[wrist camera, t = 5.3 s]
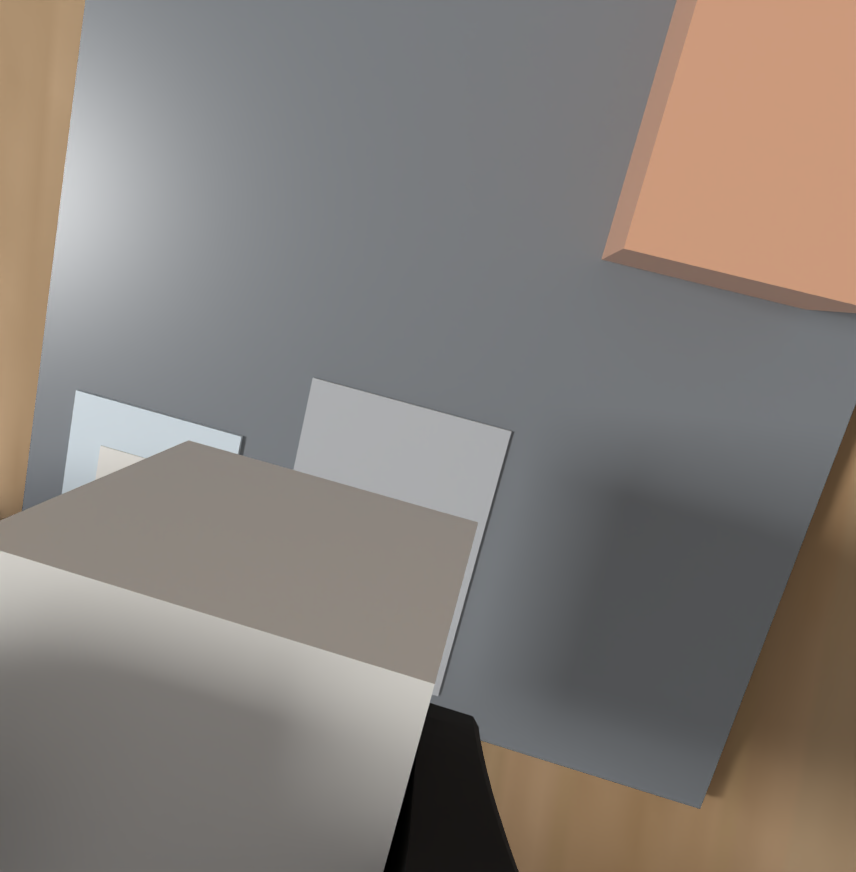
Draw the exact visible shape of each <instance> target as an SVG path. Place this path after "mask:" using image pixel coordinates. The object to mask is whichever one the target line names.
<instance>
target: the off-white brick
mask: <svg viewBox="0 0 856 872" xmlns="http://www.w3.org/2000/svg"><path fill="white" fill-rule="evenodd" d="M477 526H478V522H475V521H472V520H468V519H465V518H461V517H458V516H454V515H450V514H447V513H443V512H440V511H436V510H433V509H429V508H426V507H422V506H419V505H415V504H412V503H408V502H405V501H401V500H398V499H394V498H391V497H387V496H383V495H380V494H376V493H373V492H369V491H366V490H362V489H359V488H355V487H352V486H348V485H345V484H341V483H338V482H334V481H331V480H327V479H324V478H320V477H316V476H313V475H309V474H306V473H302V472H299V471H295V470H292V469H288V468H285V467H281V466H278V465H274V464H271V463H267V462H264V461H260V460H256V459H253V458H249V457H246V456H242V455H239V454H235V453H232V452H228V451H225V450H221V449H218V448H214V447H211V446H207V445H204V444H200V443H197V442H193V441H189V440H188V441H186V442H183V443H181V444H179V445H176V446H174V447H171V448H169V449H167V450H164V451H162V452H160V453H157V454H155V455H153V456H150V457H148V458H146V459H143V460H141V461H139V462H136V463H134V464H132V465H129V466H127V467H125V468H122V469H120V470H118V471H115V472H113V473H110V474H108V475H106V476H103V477H101V478H99V479H96V480H94V481H92V482H89V483H87V484H85V485H82V486H80V487H78V488H75V489H73V490H71V491H68V492H66V493H64V494H61V495H59V496H56V497H54V498H52V499H49V500H47V501H45V502H42V503H40V504H38V505H35V506H33V507H31V508H28V509H26V510H24V511H21V512H19V513H17V514H14V515H12V516H10V517H7V518H5V519H2V520H0V872H383V871H384V867H385V864H386V860H387V856H388V853H389V849H390V845H391V842H392V838H393V835H394V831H395V827H396V824H397V820H398V816H399V813H400V809H401V805H402V802H403V798H404V794H405V791H406V787H407V784H408V780H409V776H410V773H411V769H412V765H413V762H414V758H415V754H416V751H417V747H418V743H419V740H420V736H421V732H422V729H423V725H424V722H425V718H426V714H427V711H428V707H429V703H430V700H431V696H432V692H433V689H434V685H435V681H436V678H437V674H438V670H439V667H440V663H441V659H442V655H443V652H444V648H445V644H446V641H447V637H448V633H449V630H450V626H451V622H452V618H453V615H454V611H455V607H456V604H457V600H458V596H459V593H460V589H461V585H462V581H463V578H464V574H465V570H466V567H467V563H468V559H469V556H470V552H471V548H472V544H473V541H474V537H475V533H476V530H477Z"/></svg>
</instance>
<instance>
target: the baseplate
mask: <svg viewBox="0 0 856 872" xmlns="http://www.w3.org/2000/svg"><path fill="white" fill-rule="evenodd" d="M676 1H677V0H86V1H85V9H84V17H83V25H82V33H81V41H80V49H79V57H78V65H77V73H76V81H75V89H74V97H73V105H72V113H71V121H70V129H69V137H68V145H67V153H66V161H65V170H64V178H63V186H62V194H61V202H60V210H59V218H58V226H57V234H56V242H55V250H54V258H53V266H52V274H51V282H50V290H49V298H48V306H47V314H46V322H45V330H44V339H43V347H42V355H41V363H40V371H39V379H38V387H37V395H36V403H35V411H34V419H33V427H32V435H31V443H30V451H29V459H28V467H27V475H26V483H25V491H24V499H23V507H22V511H24V510H26V509H28V508H31V507H33V506H35V505H38V504H40V503H42V502H45V501H47V500H49V499H52V498H54V497H56V496H59V495H61V494H64V493H66V492H68V491H71V490H73V489H75V488H78V487H80V486H82V485H85V484H87V483H89V482H92V481H94V480H96V479H99V478H101V477H103V476H106V475H108V474H110V473H113V472H115V471H118V470H120V469H122V468H125V467H127V466H129V465H132V464H134V463H136V462H139V461H141V460H143V459H146V458H148V457H150V456H153V455H155V454H157V453H160V452H162V451H164V450H167V449H169V448H171V447H174V446H176V445H179V444H181V443H183V442H186V441H188V440H189V441H193V442H197V443H200V444H204V445H207V446H211V447H214V448H218V449H221V450H225V451H228V452H232V453H235V454H239V455H242V456H246V457H249V458H253V459H256V460H260V461H264V462H267V463H271V464H274V465H278V466H281V467H285V468H288V469H292V470H295V471H299V472H302V473H306V474H309V475H313V476H316V477H320V478H324V479H327V480H331V481H334V482H338V483H341V484H345V485H348V486H352V487H355V488H359V489H362V490H366V491H369V492H373V493H376V494H380V495H383V496H387V497H391V498H394V499H398V500H401V501H405V502H408V503H412V504H415V505H419V506H422V507H426V508H429V509H433V510H436V511H440V512H443V513H447V514H450V515H454V516H458V517H461V518H465V519H468V520H472V521H475V522H478V526H477V530H476V533H475V537H474V541H473V544H472V548H471V552H470V556H469V559H468V563H467V567H466V570H465V574H464V578H463V581H462V585H461V589H460V593H459V596H458V600H457V604H456V607H455V611H454V615H453V618H452V622H451V626H450V630H449V633H448V637H447V641H446V644H445V648H444V652H443V655H442V659H441V663H440V667H439V670H438V674H437V678H436V681H435V685H434V689H433V692H432V696H431V700H430V703H432V704H435V705H439V706H442V707H445V708H448V709H451V710H455V711H458V712H461V713H464V714H468V715H471V716H473V717H474V719H475V721H476V723H477V725H478V726H479V733H480V740H481V741H484V742H487V743H491V744H494V745H497V746H500V747H503V748H507V749H510V750H513V751H516V752H519V753H523V754H526V755H529V756H532V757H535V758H539V759H542V760H545V761H548V762H551V763H555V764H558V765H561V766H564V767H567V768H571V769H574V770H577V771H580V772H583V773H587V774H590V775H593V776H596V777H599V778H603V779H606V780H609V781H612V782H615V783H619V784H622V785H625V786H628V787H632V788H635V789H638V790H641V791H644V792H648V793H651V794H654V795H657V796H660V797H664V798H667V799H670V800H673V801H676V802H680V803H683V804H686V805H689V806H692V807H696V808H699V809H700V808H701V805H702V803H703V800H704V797H705V795H706V792H707V790H708V787H709V784H710V782H711V779H712V777H713V774H714V771H715V769H716V766H717V764H718V761H719V758H720V756H721V753H722V751H723V748H724V745H725V743H726V740H727V738H728V735H729V732H730V730H731V727H732V724H733V722H734V719H735V717H736V714H737V711H738V709H739V706H740V704H741V701H742V698H743V696H744V693H745V691H746V688H747V685H748V683H749V680H750V678H751V675H752V672H753V670H754V667H755V665H756V662H757V659H758V657H759V654H760V652H761V649H762V646H763V644H764V641H765V639H766V636H767V633H768V631H769V628H770V626H771V623H772V620H773V618H774V615H775V613H776V610H777V607H778V605H779V602H780V600H781V597H782V594H783V592H784V589H785V587H786V584H787V581H788V579H789V576H790V574H791V571H792V568H793V566H794V563H795V561H796V558H797V555H798V553H799V550H800V548H801V545H802V542H803V540H804V537H805V535H806V532H807V529H808V527H809V524H810V521H811V519H812V516H813V514H814V511H815V508H816V506H817V503H818V501H819V498H820V495H821V493H822V490H823V488H824V485H825V482H826V480H827V477H828V475H829V472H830V469H831V467H832V464H833V462H834V459H835V456H836V454H837V451H838V449H839V446H840V443H841V441H842V438H843V436H844V433H845V430H846V428H847V425H848V423H849V420H850V417H851V415H852V412H853V410H854V407H855V404H856V313H845V312H831V311H818V310H805V309H801V308H797V307H793V306H789V305H785V304H780V303H776V302H772V301H768V300H764V299H760V298H756V297H752V296H748V295H744V294H740V293H736V292H732V291H728V290H723V289H719V288H715V287H711V286H707V285H703V284H699V283H695V282H691V281H687V280H683V279H679V278H675V277H670V276H666V275H662V274H658V273H654V272H650V271H646V270H642V269H638V268H634V267H630V266H626V265H622V264H617V263H613V262H609V261H605V260H601V259H602V256H603V252H604V249H605V245H606V242H607V238H608V235H609V232H610V228H611V225H612V221H613V218H614V214H615V211H616V207H617V204H618V201H619V197H620V194H621V190H622V187H623V183H624V180H625V176H626V173H627V170H628V166H629V163H630V159H631V156H632V152H633V149H634V145H635V142H636V139H637V135H638V132H639V128H640V125H641V121H642V118H643V115H644V111H645V108H646V104H647V101H648V97H649V94H650V90H651V87H652V84H653V80H654V77H655V73H656V70H657V66H658V63H659V59H660V56H661V53H662V49H663V46H664V42H665V39H666V35H667V32H668V28H669V25H670V22H671V18H672V15H673V11H674V8H675V4H676Z"/></svg>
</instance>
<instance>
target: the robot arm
mask: <svg viewBox="0 0 856 872" xmlns="http://www.w3.org/2000/svg"><path fill="white" fill-rule="evenodd" d="M383 872H518V869H517V866H516V863H515V861H514V858H513V855H512V852H511V849H510V846H509V843H508V840H507V837H506V834H505V831H504V828H503V825H502V822H501V819H500V816H499V813H498V810H497V806H496V803H495V799H494V796H493V792H492V789H491V785H490V781H489V777H488V773H487V769H486V765H485V761H484V756H483V751H482V746H481V740H480V733H479V726H478V725H477V723H476V721H475V719H474V717H473V716H471V715H468V714H464V713H461V712H458V711H455V710H451V709H448V708H445V707H442V706H439V705H435V704H432V703H429V707H428V711H427V714H426V718H425V722H424V725H423V729H422V732H421V736H420V740H419V743H418V747H417V751H416V754H415V758H414V762H413V765H412V769H411V773H410V776H409V780H408V784H407V787H406V791H405V794H404V798H403V802H402V805H401V809H400V813H399V816H398V820H397V824H396V827H395V831H394V835H393V838H392V842H391V845H390V849H389V853H388V856H387V860H386V864H385V867H384V871H383Z"/></svg>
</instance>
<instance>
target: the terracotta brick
mask: <svg viewBox="0 0 856 872" xmlns="http://www.w3.org/2000/svg"><path fill="white" fill-rule="evenodd" d="M601 260H605V261H609V262H613V263H617V264H622V265H626V266H630V267H634V268H638V269H642V270H646V271H650V272H654V273H658V274H662V275H666V276H670V277H675V278H679V279H683V280H687V281H691V282H695V283H699V284H703V285H707V286H711V287H715V288H719V289H723V290H728V291H732V292H736V293H740V294H744V295H748V296H752V297H756V298H760V299H764V300H768V301H772V302H776V303H780V304H785V305H789V306H793V307H797V308H801V309H805V310H818V311H831V312H845V313H856V0H677V1H676V4H675V8H674V11H673V15H672V18H671V22H670V25H669V28H668V32H667V35H666V39H665V42H664V46H663V49H662V53H661V56H660V59H659V63H658V66H657V70H656V73H655V77H654V80H653V84H652V87H651V90H650V94H649V97H648V101H647V104H646V108H645V111H644V115H643V118H642V121H641V125H640V128H639V132H638V135H637V139H636V142H635V145H634V149H633V152H632V156H631V159H630V163H629V166H628V170H627V173H626V176H625V180H624V183H623V187H622V190H621V194H620V197H619V201H618V204H617V207H616V211H615V214H614V218H613V221H612V225H611V228H610V232H609V235H608V238H607V242H606V245H605V249H604V252H603V256H602V259H601Z"/></svg>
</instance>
